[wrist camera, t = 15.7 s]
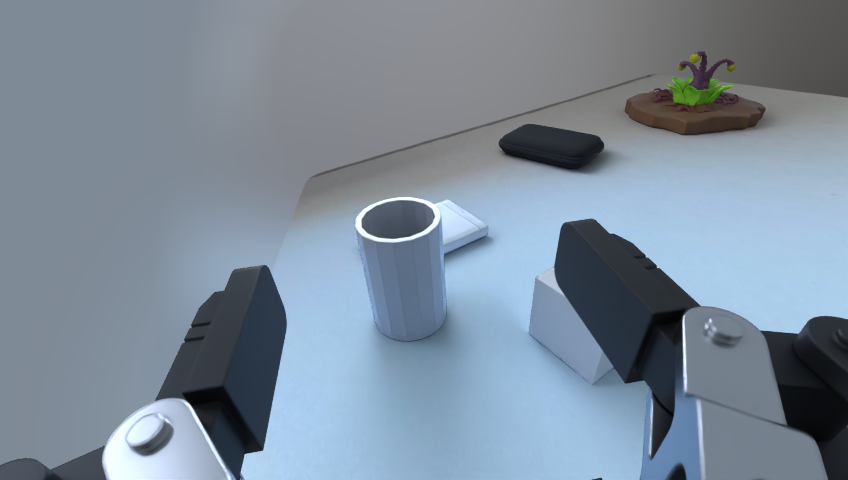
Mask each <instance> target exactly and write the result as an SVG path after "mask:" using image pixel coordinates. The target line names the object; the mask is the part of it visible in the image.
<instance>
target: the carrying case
mask: <svg viewBox="0 0 848 480" xmlns="http://www.w3.org/2000/svg"><path fill="white" fill-rule="evenodd" d="M499 146H500V148H501V149H502V150H503V151H504V152H505V153H508V154H512V155H516V156H520V157H524V158H528V159H532V160H536V161H540V162H544V163H549V164H553V165H557V166H562V167H566V168H579V167H581V166H582V165H584V164H585V163H587V162H588V161H589V160H590V159H592V158H593V157H594V156H596V155H597V154H598V153H599V152H601V151H602V150H603V149H604V143H603V142H602V141H601V139H600V137H598V136H596V135H591V134H586V133H581V132H575V131H570V130H564V129H558V128H553V127H547V126H541V125H535V124H526V125H523V126H521V127H519V128H517V129H516V130H514V131H512V132H510V133H508V134H506V135H504V136H503V138H502V139H500V141H499Z"/></svg>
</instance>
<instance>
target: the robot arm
mask: <svg viewBox="0 0 848 480" xmlns="http://www.w3.org/2000/svg"><path fill="white" fill-rule="evenodd" d="M554 273H555V278H556V281H557V284H558V286H559V288H560V289H561V291H562V292H563V294H564V295H565V297H566V298H567V300H568V301H569V302H570V304H571V305H572V307H573V308H574V310H575V311H576V313H577V314H578V316H579V317H580V319H581V320H582V321H583V323H584V324H585V326H586V327H587V329H588V330H589V332H590V333H591V335H592V336H593V337H594V339H595V340H596V342H597V343H598V345H599V346H600V348H601V349H602V351H603V352H604V354H605V355H606V356H607V358H608V359H609V361H610V362H611V364H612V365H613V367H614V368H615V370H616V371H617V372H618V374H619V375H620V377H621V378H622V380H623V381H624V383H625V384H626V383H632V382H637V381H642V380H644V381H645V382H646V383H647V385H648V386H649V387H650V389H649V391H648V393H647V397H646V412H645V427H644V443H643V459H642V469H641V475H640V479H639V480H848V428H847V427H846V426H847V425H848V319H843V318H839V317H832V316H819V317H815V318H812V319H810V320H809V321H808V322H807V324H806V325H805V326H804V328H803V329H802V330H801V332H800V333H799V334H794V333H783V332H772V331H760V330H759V329H758V328H757V327H755V326H754V325H753V324H752V323H750V322H749V321H748V320H746V319H744V318H743V317H741V316H739V315H737V314H735V313H732V312H730V311H727V310H724V309H720V308H716V307H708V306H700V305H699V304H698V303H697V302H696V301H695V300H694V299H693V298H691V297H690V296H689V295H688V294H687V293H686V292H685V291H684V290H683V289H682V288H681V287H679V286H678V285H677V284H676V283H675V282H674V281H673V280H672V279H671V278H670V277H669V276H668V275H666V274H665V273H664V272H663V271H662V270H661V269H660V268H657V265H656V264H654V263H653V262H652V261H651V260H650V259H649V258H646V257H645V254H644V253H642V252H641V251H640V250H639V249H638V248H637V247H636V246H635V245H634V244H633V243H631V242H629V241H627V240H625V239H623V238H621V237H619V236H617V235H616V234H609V233H608V232H607V231H606V230H605V229H604V228H603V227H602V226H601V225H600V224H599V223H598V222H597V221H596V220H594V219H585V220H579V221H572V222H565V223H564V224H563V225H562V227H561V231H560V236H559V242H558V248H557V254H556V260H555V266H554ZM191 326H192V328H190V329H189V331H188V333H187V335H186V337H185V339H184V340H185V343H182V345H181V347H180V350H179V352H178V354H177V356H176V358H175V360H174V362H173V364H172V366H171V369H170V371H169V373H168V375H167V377H166V379H165V381H164V383H163V385H162V388H161V389H160V392H159V394H158V396H157V398H156V400H155V402H152V403H150V404H148V405H146V406H144V407H143V408H141V409H139V410H138V411H136V412H135V413H134V414H132V415H131V416H129V417H128V418H127V419H126V420H125V421H124V422H123V423H122V424H121V425H120V426H119V427H118V428H117V429H116V430H115V431H114V433H113V434H112V435H111V437H110V438H109V440H108V442H107V444H106V445H105V446H103V447H101V448H99V449H96V450H94V451H92V452H90V453H87V454H85V455H83V456H81V457H78V458H76V459H74V460H71V461H69V462H67V463H65V464H62V465H61V466H58V467H56V468H53V469H51V470H50V469H49V468H47V467H46V466H44V465H43V464H42V463H40V462H39V461H37V460H35V459H31V458H23V459H17V460H13V461H10V462H7V463H5V464H2V465H0V480H245V479H244V477H243V476H242V474H241V473H240V472H241V468H242V463H243V459H244V455H245V454H247V453H252V452H258V451H263V448H264V443H265V438H266V433H267V427H268V422H269V417H270V412H271V407H272V401H273V396H274V391H275V386H276V381H277V376H278V370H279V365H280V360H281V355H282V350H283V344H284V339H285V334H286V327H287V321H286V313H285V309H284V306H283V303H282V300H281V298H280V295H279V293H278V290H277V287H276V285H275V282H274V280H273V277H272V274H271V272H270V270H269V268H268V267H267V266H266V265H261V266H255V267H247V268H240V269H235V270H233V272H232V274H231V276H230V278H229V281H228V283H227V286H226V288H225V290H224V291H219V292H215V293H213V294H212V295H211V297H210V298H209V299H208V300H207V301H206V302H205V303H204V304H203V305H202V306H201V307H200V308H199V310H198V312H197V314H196V316H195V318H194V320H193V322H192V324H191ZM593 480H602V478H597V479H593Z"/></svg>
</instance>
